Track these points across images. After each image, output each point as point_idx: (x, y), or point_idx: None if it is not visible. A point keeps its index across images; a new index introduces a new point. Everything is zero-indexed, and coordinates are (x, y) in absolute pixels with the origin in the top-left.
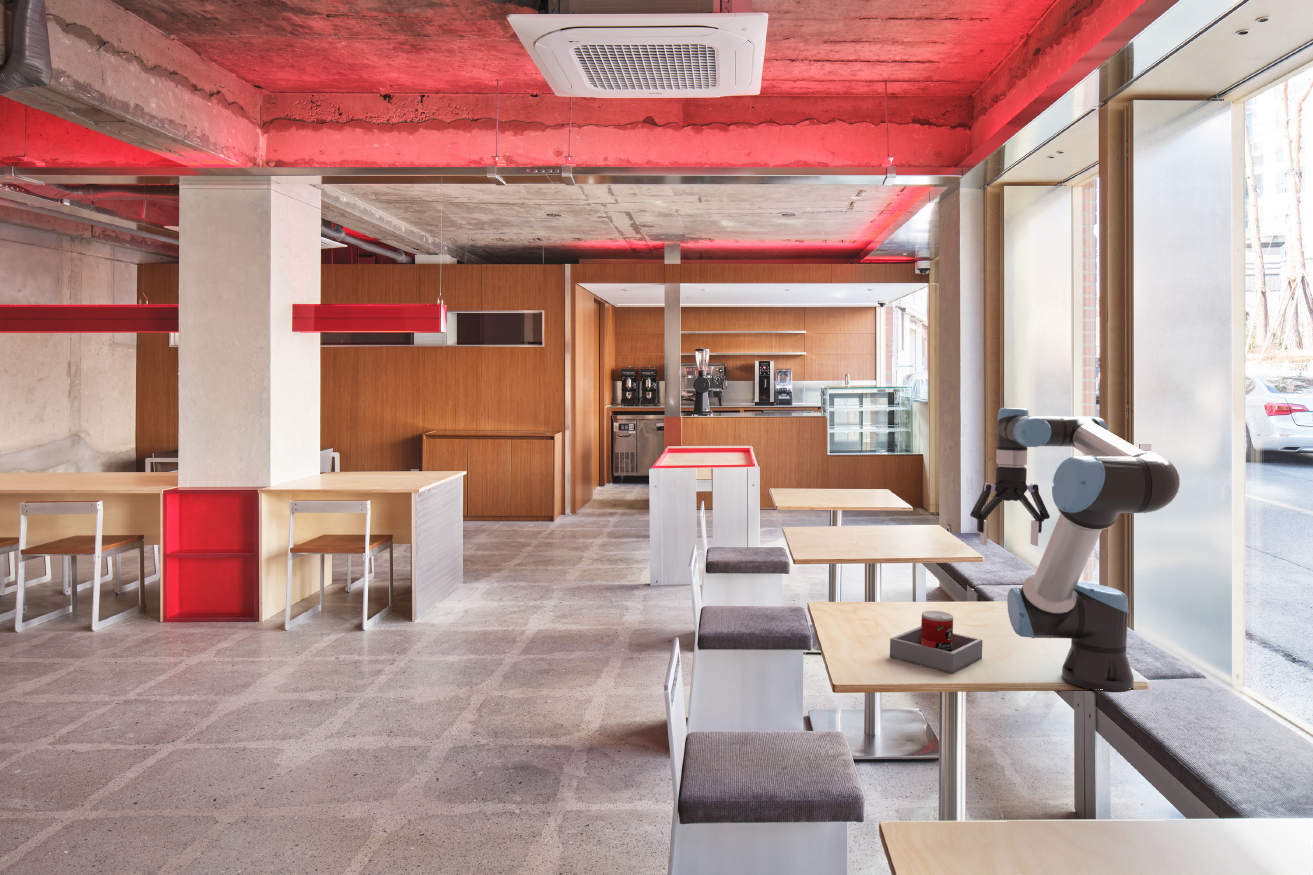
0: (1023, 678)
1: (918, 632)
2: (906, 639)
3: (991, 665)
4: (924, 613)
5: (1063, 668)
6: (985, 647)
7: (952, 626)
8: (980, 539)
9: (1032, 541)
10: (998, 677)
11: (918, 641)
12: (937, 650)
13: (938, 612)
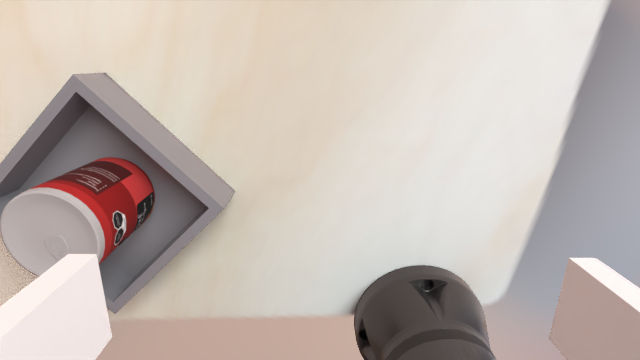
0: (276, 306)
1: (65, 111)
2: (28, 159)
3: (240, 236)
4: (9, 219)
5: (359, 319)
6: (276, 104)
7: (111, 251)
8: (40, 286)
9: (580, 313)
10: (227, 302)
11: (83, 107)
12: None
13: (61, 203)
